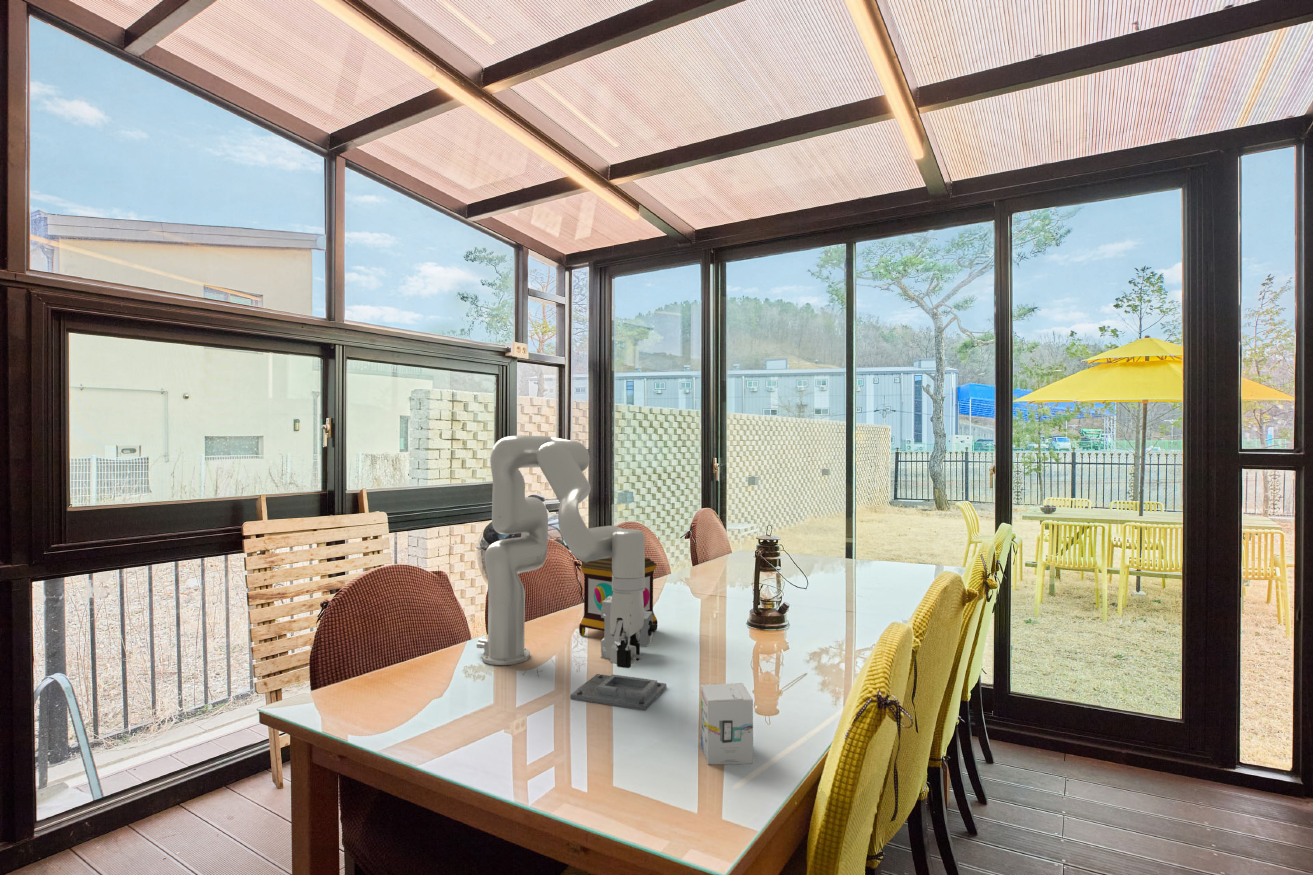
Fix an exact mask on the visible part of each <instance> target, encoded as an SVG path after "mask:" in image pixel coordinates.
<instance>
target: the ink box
mask: <svg viewBox="0 0 1313 875" xmlns="http://www.w3.org/2000/svg"><path fill="white" fill-rule="evenodd" d="M700 745H701V749H702V752H703V754H704V757H705V760H706V763H707V765H708V766H709V765H710V766H712V765H716V766H717V765H741V764H744V765H745V764H747V765H748V764H753V763H754V699H753V698H752V696H751V694H750V693H749V691H748V690H747V688H746V686H745V684H744V683H743V682H741V683H734V682H733V683H731V682H730V683H711V684H710V683H708V684H707V683H706V684H703V683H702V684H700Z"/></svg>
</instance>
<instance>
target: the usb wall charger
mask: <svg viewBox="0 0 1313 875" xmlns="http://www.w3.org/2000/svg"><path fill="white" fill-rule="evenodd" d="M629 650H631V666H632V665H635V664H636V662H637V661H636V658H639V659H641V660H643V656H642V655H641V654H640V655H637V654H636V647H635V646H632V645H630V646H629ZM609 660H610V663H612V664H613V665H614V664H616V665H617V650H616V644H615V645H612V646H611V649H610V659H609Z"/></svg>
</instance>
